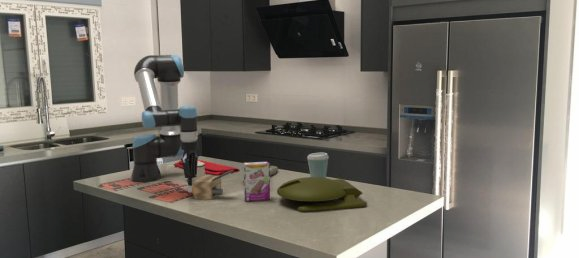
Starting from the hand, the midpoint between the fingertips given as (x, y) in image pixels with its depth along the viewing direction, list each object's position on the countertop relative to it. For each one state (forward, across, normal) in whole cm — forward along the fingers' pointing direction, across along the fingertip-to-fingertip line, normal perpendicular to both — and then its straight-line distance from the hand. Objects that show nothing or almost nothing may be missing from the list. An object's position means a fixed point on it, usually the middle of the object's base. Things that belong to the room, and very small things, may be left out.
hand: (191, 191), depth 222 cm
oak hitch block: (+2, +2, -7) cm, 8 cm away
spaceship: (+3, +4, -58) cm, 58 cm away
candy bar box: (+2, 0, -31) cm, 31 cm away
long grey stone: (+3, +41, -20) cm, 46 cm away
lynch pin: (+2, 0, -9) cm, 9 cm away
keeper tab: (-8, 0, -16) cm, 18 cm away
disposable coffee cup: (+2, +33, -52) cm, 61 cm away
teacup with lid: (+2, +27, +12) cm, 30 cm away
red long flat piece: (+3, +55, +19) cm, 58 cm away
